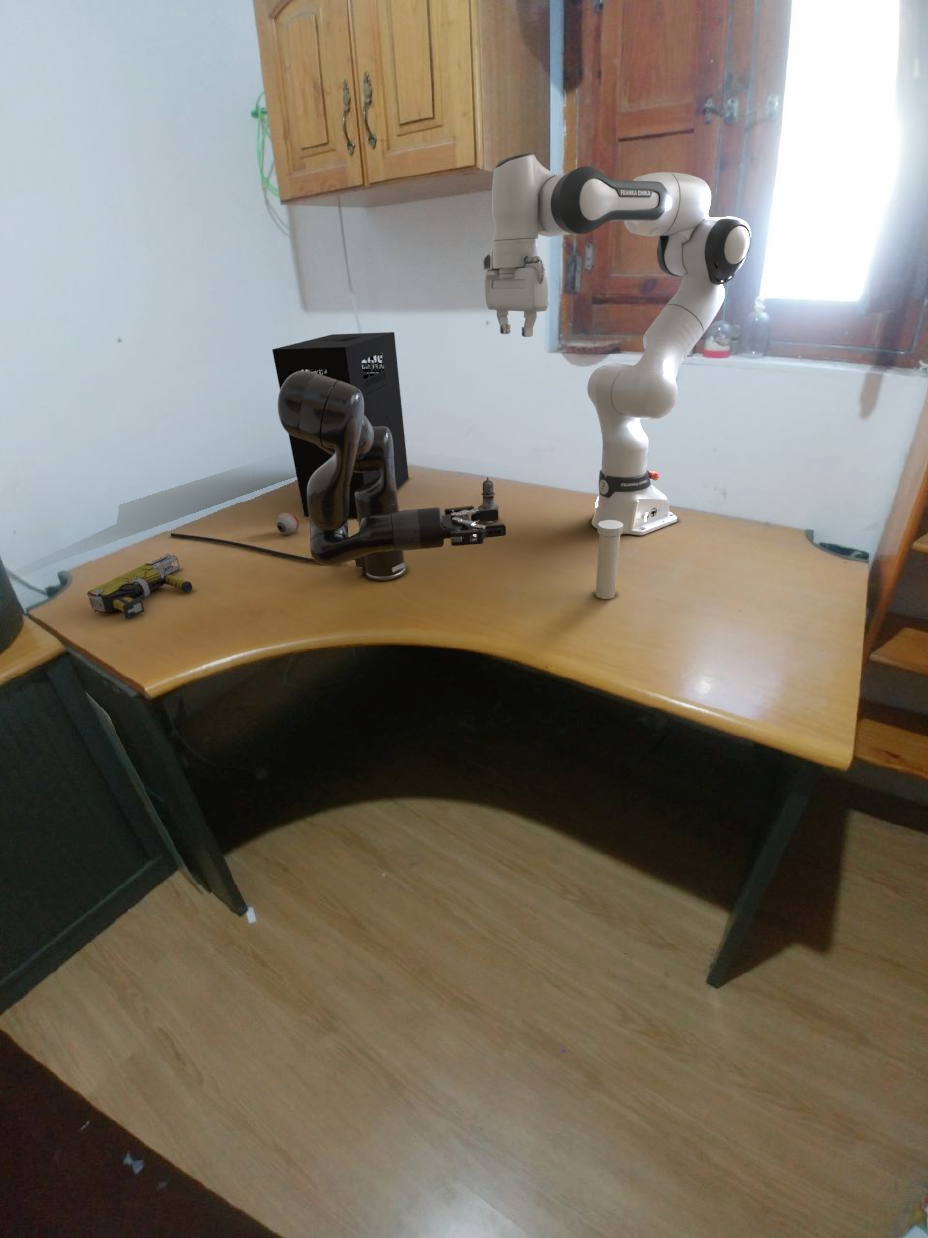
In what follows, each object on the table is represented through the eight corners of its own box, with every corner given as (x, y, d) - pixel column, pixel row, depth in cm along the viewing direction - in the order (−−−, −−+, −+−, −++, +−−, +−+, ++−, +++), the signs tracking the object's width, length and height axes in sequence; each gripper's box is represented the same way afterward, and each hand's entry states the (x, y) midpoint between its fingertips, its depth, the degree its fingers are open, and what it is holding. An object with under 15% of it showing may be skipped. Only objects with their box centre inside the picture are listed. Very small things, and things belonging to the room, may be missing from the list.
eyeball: (273, 537, 164) (268, 516, 161) (287, 528, 169) (282, 508, 166) (291, 539, 161) (286, 518, 158) (305, 530, 166) (301, 510, 163)
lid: (619, 538, 116) (620, 530, 115) (594, 535, 118) (594, 527, 117) (625, 529, 120) (626, 521, 119) (600, 526, 122) (601, 518, 121)
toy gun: (216, 562, 143) (165, 551, 147) (137, 606, 123) (80, 592, 127) (219, 580, 145) (169, 569, 149) (142, 626, 125) (86, 611, 129)
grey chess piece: (497, 523, 164) (496, 480, 158) (476, 523, 165) (474, 480, 159) (501, 516, 168) (500, 473, 162) (480, 515, 170) (478, 473, 164)
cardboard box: (368, 517, 173) (345, 346, 150) (304, 515, 177) (272, 349, 155) (408, 478, 204) (394, 331, 182) (353, 477, 209) (332, 334, 186)
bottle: (612, 600, 124) (618, 531, 116) (593, 597, 125) (597, 528, 118) (617, 592, 127) (622, 524, 119) (598, 589, 128) (602, 521, 121)
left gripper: (417, 523, 106) (508, 515, 107) (413, 498, 118) (495, 491, 119) (421, 562, 109) (508, 554, 111) (417, 534, 122) (496, 527, 123)
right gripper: (557, 254, 111) (556, 336, 118) (505, 258, 127) (506, 331, 134) (528, 255, 109) (527, 339, 116) (478, 260, 125) (481, 333, 132)
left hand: (501, 521), depth 115 cm, fingers open, 8 cm apart
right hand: (516, 335), depth 125 cm, fingers open, 8 cm apart
